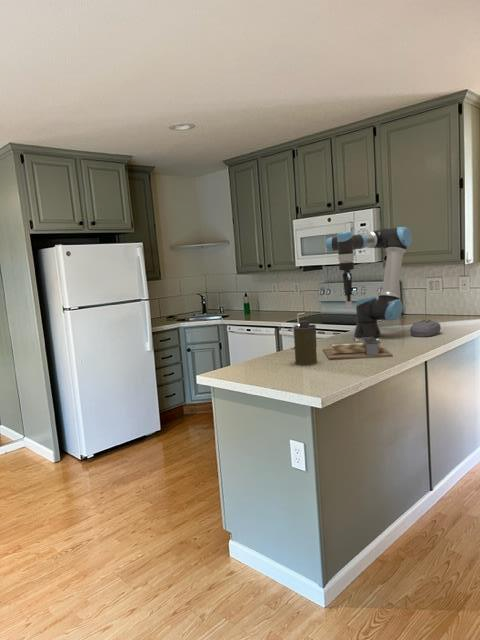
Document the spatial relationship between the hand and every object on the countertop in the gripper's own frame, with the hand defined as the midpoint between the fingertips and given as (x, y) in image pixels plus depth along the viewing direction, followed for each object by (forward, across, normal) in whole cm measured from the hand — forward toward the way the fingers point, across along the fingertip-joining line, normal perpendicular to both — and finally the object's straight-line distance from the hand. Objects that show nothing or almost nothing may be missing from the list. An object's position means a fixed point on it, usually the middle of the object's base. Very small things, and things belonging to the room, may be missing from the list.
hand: (348, 307), depth 251 cm
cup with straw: (+22, -9, -26) cm, 35 cm away
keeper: (+20, +19, +5) cm, 29 cm away
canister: (+21, +28, -26) cm, 44 cm away
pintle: (+16, +17, +10) cm, 26 cm away
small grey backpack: (+24, -28, +48) cm, 61 cm away
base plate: (+22, +14, 0) cm, 25 cm away
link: (+20, +17, 0) cm, 26 cm away
